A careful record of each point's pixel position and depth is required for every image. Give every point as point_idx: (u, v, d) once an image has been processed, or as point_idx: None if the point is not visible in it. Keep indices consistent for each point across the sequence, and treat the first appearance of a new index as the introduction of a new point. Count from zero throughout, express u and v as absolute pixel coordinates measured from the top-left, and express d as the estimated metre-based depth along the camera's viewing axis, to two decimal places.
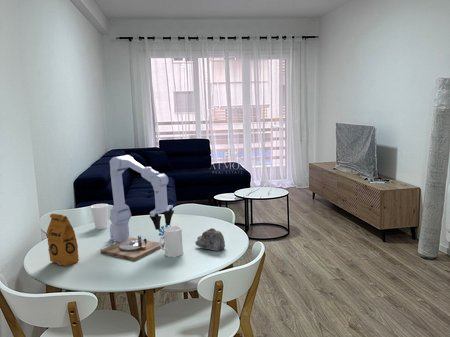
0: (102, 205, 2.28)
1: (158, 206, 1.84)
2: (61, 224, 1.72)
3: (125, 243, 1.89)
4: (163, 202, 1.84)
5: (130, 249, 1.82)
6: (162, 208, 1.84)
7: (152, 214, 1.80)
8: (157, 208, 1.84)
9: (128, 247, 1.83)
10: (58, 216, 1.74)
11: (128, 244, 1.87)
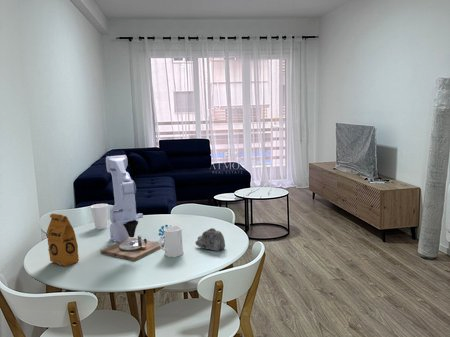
0: (102, 205, 2.28)
1: (126, 215, 1.76)
2: (61, 224, 1.72)
3: (125, 243, 1.89)
4: (131, 211, 1.76)
5: (130, 249, 1.82)
6: (129, 217, 1.76)
7: (119, 223, 1.72)
8: (125, 217, 1.76)
9: (128, 247, 1.83)
10: (58, 216, 1.74)
11: (128, 244, 1.87)
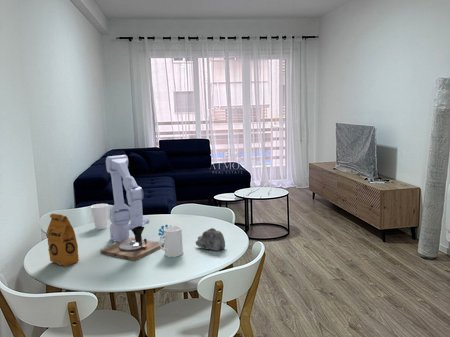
0: (102, 205, 2.28)
1: (133, 221, 1.80)
2: (61, 224, 1.72)
3: (125, 243, 1.89)
4: (138, 216, 1.80)
5: (131, 249, 1.82)
6: (136, 222, 1.80)
7: (126, 229, 1.77)
8: (132, 223, 1.80)
9: (129, 247, 1.83)
10: (58, 216, 1.74)
11: (128, 244, 1.87)
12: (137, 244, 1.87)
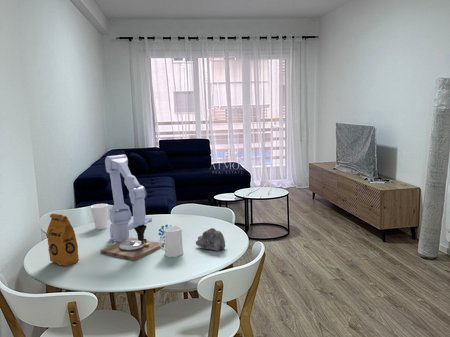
0: (102, 205, 2.28)
1: (136, 219, 1.82)
2: (61, 224, 1.72)
3: (123, 244, 1.87)
4: (141, 215, 1.82)
5: (137, 248, 1.83)
6: (139, 221, 1.82)
7: (129, 228, 1.78)
8: (135, 221, 1.82)
9: (133, 247, 1.84)
10: (58, 216, 1.74)
11: (129, 245, 1.86)
12: (138, 243, 1.88)
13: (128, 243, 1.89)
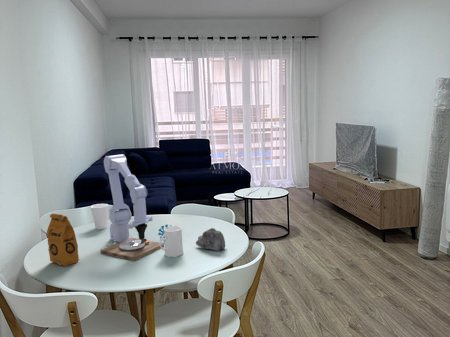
0: (102, 205, 2.28)
1: (136, 218, 1.84)
2: (61, 224, 1.72)
3: (124, 245, 1.86)
4: (142, 214, 1.84)
5: (142, 246, 1.85)
6: (140, 220, 1.84)
7: (130, 226, 1.80)
8: (136, 220, 1.84)
9: (137, 246, 1.85)
10: (58, 216, 1.74)
11: (130, 245, 1.86)
12: (137, 242, 1.89)
13: (127, 244, 1.88)
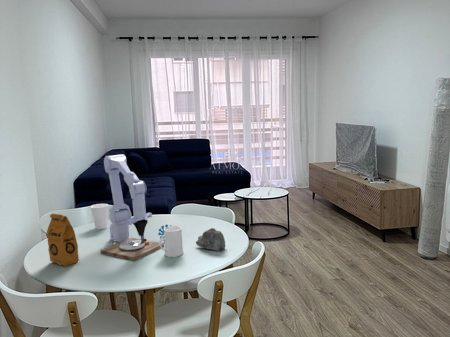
0: (102, 205, 2.28)
1: (136, 214, 1.82)
2: (61, 224, 1.72)
3: (124, 245, 1.86)
4: (141, 210, 1.82)
5: (142, 246, 1.85)
6: (139, 216, 1.82)
7: (129, 222, 1.79)
8: (135, 216, 1.82)
9: (137, 246, 1.85)
10: (58, 216, 1.74)
11: (130, 245, 1.86)
12: (137, 242, 1.89)
13: (127, 244, 1.88)
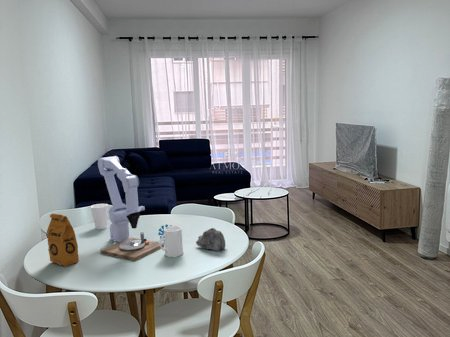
0: (102, 205, 2.28)
1: (129, 207, 1.87)
2: (61, 224, 1.72)
3: (124, 245, 1.86)
4: (134, 203, 1.87)
5: (142, 246, 1.85)
6: (132, 209, 1.87)
7: (122, 215, 1.84)
8: (128, 209, 1.87)
9: (137, 246, 1.85)
10: (58, 216, 1.74)
11: (130, 245, 1.86)
12: (137, 242, 1.89)
13: (127, 244, 1.88)
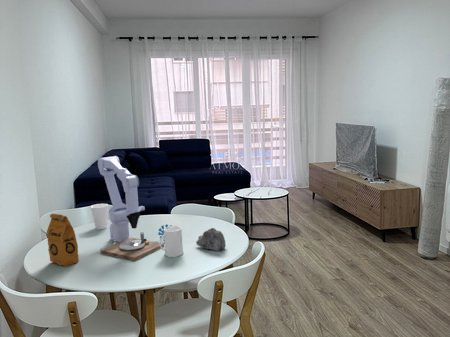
0: (102, 205, 2.28)
1: (129, 207, 1.87)
2: (61, 224, 1.72)
3: (124, 245, 1.86)
4: (134, 203, 1.87)
5: (142, 246, 1.85)
6: (132, 209, 1.87)
7: (122, 215, 1.84)
8: (128, 209, 1.87)
9: (137, 246, 1.85)
10: (58, 216, 1.74)
11: (130, 245, 1.86)
12: (137, 242, 1.89)
13: (127, 244, 1.88)
